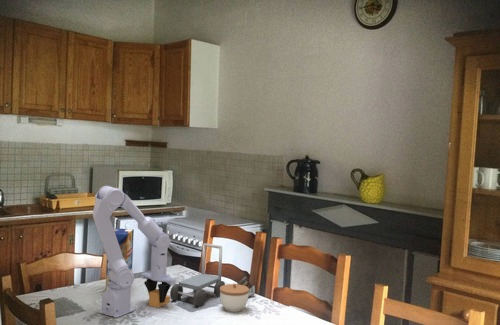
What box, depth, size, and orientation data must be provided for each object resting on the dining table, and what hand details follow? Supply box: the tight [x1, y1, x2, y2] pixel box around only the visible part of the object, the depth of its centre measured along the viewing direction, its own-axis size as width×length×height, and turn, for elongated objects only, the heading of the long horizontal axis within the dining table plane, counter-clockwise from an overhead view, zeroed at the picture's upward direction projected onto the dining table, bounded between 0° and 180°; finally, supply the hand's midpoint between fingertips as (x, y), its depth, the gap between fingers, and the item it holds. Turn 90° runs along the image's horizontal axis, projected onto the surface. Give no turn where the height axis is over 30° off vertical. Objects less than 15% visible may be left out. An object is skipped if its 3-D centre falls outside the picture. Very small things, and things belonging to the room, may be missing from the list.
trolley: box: [169, 242, 226, 307], centre depth 183 cm, size 20×12×20 cm, turn 151°
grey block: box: [236, 275, 256, 299], centre depth 189 cm, size 10×7×12 cm
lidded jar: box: [219, 283, 249, 313], centre depth 173 cm, size 11×11×9 cm
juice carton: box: [105, 227, 135, 291], centre depth 186 cm, size 12×8×24 cm, turn 2°
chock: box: [148, 288, 171, 308], centre depth 175 cm, size 7×4×5 cm, turn 151°
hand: (157, 300), depth 174 cm, fingers closed on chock, 4 cm apart
